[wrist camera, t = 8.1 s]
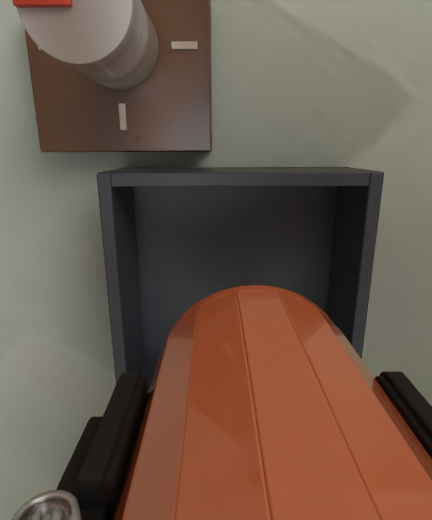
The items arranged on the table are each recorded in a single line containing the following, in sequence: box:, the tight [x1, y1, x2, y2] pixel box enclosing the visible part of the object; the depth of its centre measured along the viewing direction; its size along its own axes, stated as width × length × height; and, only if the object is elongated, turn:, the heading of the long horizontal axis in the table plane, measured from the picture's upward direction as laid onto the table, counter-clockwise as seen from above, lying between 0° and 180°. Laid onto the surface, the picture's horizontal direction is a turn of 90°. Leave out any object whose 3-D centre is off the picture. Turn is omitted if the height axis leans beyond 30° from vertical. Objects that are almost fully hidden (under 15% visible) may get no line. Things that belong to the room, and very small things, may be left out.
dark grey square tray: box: [97, 167, 384, 392], centre depth 23 cm, size 14×14×6 cm
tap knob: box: [13, 0, 159, 90], centre depth 17 cm, size 4×4×7 cm
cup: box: [113, 285, 432, 520], centre depth 9 cm, size 7×7×10 cm
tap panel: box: [25, 0, 212, 152], centre depth 21 cm, size 10×10×2 cm
